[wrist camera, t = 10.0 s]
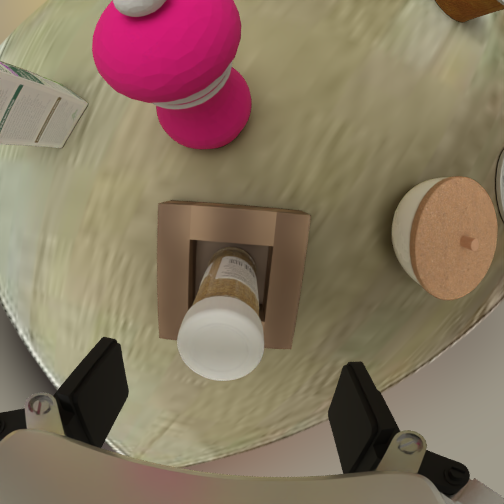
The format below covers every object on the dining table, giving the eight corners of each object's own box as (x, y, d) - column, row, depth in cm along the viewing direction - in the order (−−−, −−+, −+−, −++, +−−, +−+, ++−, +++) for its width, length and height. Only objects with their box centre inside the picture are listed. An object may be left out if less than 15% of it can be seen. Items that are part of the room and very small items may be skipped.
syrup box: (90, 103, 23) (-5, 64, 9) (61, 151, 24) (-41, 144, 10) (61, 84, 22) (-27, 48, 8) (35, 129, 23) (-59, 117, 9)
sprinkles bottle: (198, 265, 27) (157, 341, 14) (236, 235, 26) (225, 292, 13) (229, 301, 28) (215, 395, 15) (267, 273, 27) (282, 357, 14)
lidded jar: (381, 287, 28) (428, 326, 19) (365, 185, 26) (418, 189, 16) (455, 259, 28) (508, 284, 19) (445, 168, 25) (504, 169, 16)
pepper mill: (230, 166, 25) (183, 113, 6) (160, 139, 24) (0, 72, 5) (263, 97, 24) (300, -64, 4) (192, 72, 23) (112, -78, 3)
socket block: (301, 210, 26) (310, 215, 22) (285, 328, 29) (291, 349, 25) (171, 200, 26) (158, 203, 22) (169, 318, 28) (159, 337, 24)
